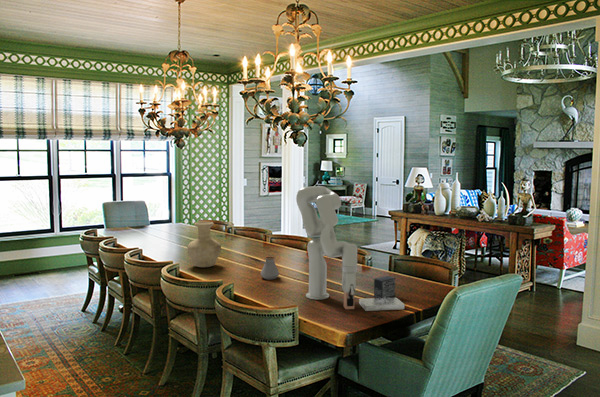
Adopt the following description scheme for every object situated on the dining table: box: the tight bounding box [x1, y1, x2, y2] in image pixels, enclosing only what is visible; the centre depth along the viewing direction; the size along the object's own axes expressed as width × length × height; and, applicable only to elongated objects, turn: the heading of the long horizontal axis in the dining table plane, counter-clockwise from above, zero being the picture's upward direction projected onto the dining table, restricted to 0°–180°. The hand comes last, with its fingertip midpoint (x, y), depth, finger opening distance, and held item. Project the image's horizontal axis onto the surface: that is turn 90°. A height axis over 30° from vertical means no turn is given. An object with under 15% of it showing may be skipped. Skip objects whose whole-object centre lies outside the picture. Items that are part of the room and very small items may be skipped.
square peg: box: [343, 290, 356, 310], centre depth 246 cm, size 4×4×9 cm
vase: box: [186, 221, 222, 268], centre depth 332 cm, size 22×22×30 cm
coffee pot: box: [248, 256, 280, 281], centre depth 300 cm, size 21×12×15 cm, turn 131°
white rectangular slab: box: [358, 296, 405, 312], centre depth 249 cm, size 12×20×2 cm, turn 99°
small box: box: [373, 275, 396, 298], centre depth 266 cm, size 11×6×10 cm, turn 129°
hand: (348, 304), depth 246 cm, fingers closed on square peg, 4 cm apart
